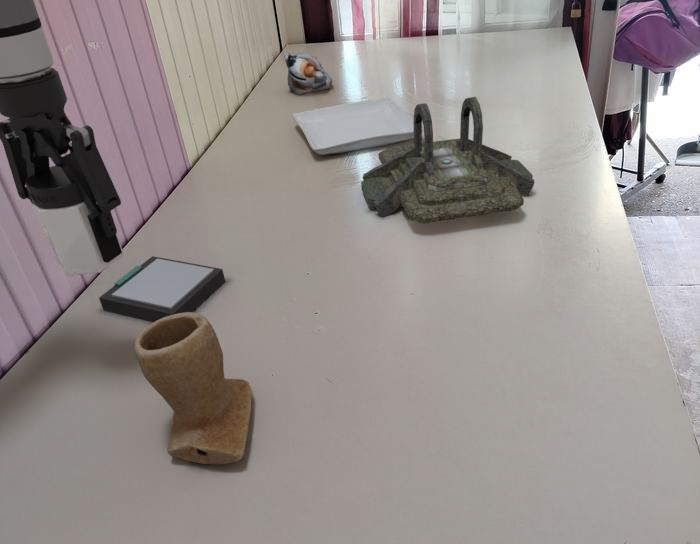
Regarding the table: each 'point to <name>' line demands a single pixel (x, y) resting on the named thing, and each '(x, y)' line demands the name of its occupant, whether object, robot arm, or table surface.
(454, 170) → the grey stone stepped platform
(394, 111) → the square plate
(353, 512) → the table surface
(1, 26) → the robot arm
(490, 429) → the table surface
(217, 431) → the clay smoking pipe
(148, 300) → the scale
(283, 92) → the table surface
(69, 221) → the jar
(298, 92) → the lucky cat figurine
